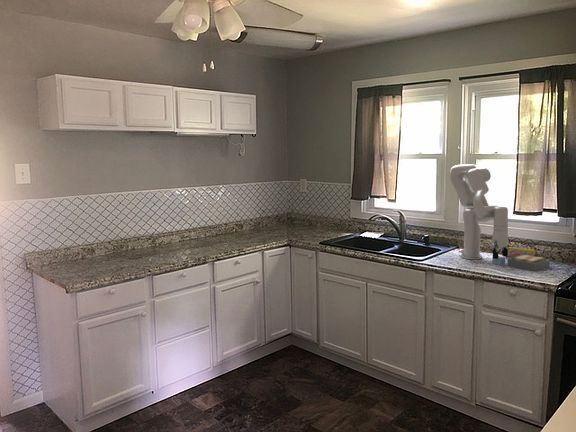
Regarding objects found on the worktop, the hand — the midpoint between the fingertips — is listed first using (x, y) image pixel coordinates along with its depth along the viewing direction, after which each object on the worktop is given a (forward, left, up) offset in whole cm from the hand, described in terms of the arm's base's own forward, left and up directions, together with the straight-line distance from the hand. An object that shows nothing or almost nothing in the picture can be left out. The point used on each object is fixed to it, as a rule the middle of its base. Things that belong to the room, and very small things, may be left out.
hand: (500, 257), depth 286 cm
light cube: (-1, 0, -5) cm, 5 cm away
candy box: (+1, +19, -5) cm, 20 cm away
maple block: (+13, +7, -4) cm, 15 cm away
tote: (+13, +7, -5) cm, 16 cm away
